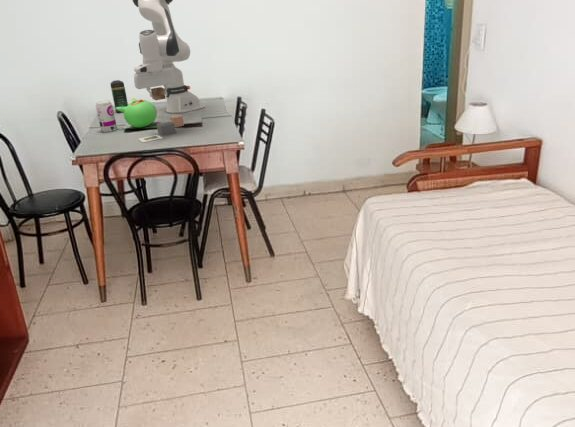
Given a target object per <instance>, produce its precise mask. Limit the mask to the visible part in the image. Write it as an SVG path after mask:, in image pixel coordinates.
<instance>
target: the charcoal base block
mask: <svg viewBox="0 0 575 427" xmlns="http://www.w3.org/2000/svg"><path fill="white" fill-rule="evenodd" d="M156 130H157V133H158V134H157V135H159V136H161V137H165V136H166V137H167V136H169V135H174V134H177V131H176V127H175V124H174V123H172V122H171V120H170V121H165V122H160V123H159V122H158V123H156Z"/></svg>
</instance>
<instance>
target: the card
mask: <svg viewBox="0 0 575 427" xmlns="http://www.w3.org/2000/svg"><path fill="white" fill-rule="evenodd" d="M162 139H163V136H161V135H160V134H154V135H150V136H144V137H140V138H137V140H138V141H139V142H141V143H148V142H154V141H157V140H162Z"/></svg>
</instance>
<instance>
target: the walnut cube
mask: <svg viewBox="0 0 575 427" xmlns="http://www.w3.org/2000/svg"><path fill="white" fill-rule="evenodd" d="M164 88H165V87H162V86H157V87H151V88H150V89H151V90H150V91H151V93H154V96H153V97H151V99H152V100H153V101H159V100H167V99H166V95H165V92H164Z"/></svg>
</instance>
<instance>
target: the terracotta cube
mask: <svg viewBox="0 0 575 427" xmlns="http://www.w3.org/2000/svg"><path fill="white" fill-rule="evenodd" d="M169 118H170V122H172V123H174V124H175V128H179V127H182V126H183V127H184V126H185V123H184V116H183V115H181V114H177V115H171V116H170V117H169Z"/></svg>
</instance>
